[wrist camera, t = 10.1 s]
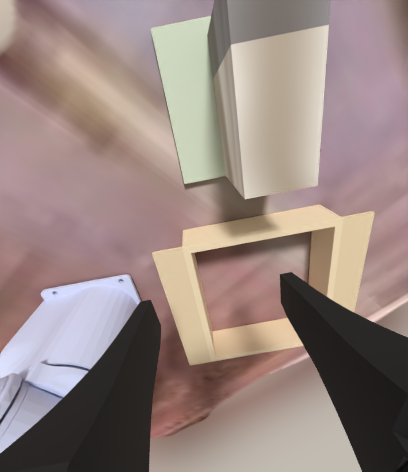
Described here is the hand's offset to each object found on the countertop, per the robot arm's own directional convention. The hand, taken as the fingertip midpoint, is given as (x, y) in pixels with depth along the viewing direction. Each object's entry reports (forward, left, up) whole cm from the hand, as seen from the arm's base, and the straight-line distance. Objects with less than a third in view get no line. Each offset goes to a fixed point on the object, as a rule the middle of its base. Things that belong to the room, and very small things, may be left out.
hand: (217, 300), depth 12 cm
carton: (+5, -7, -10) cm, 13 cm away
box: (+5, +9, -9) cm, 14 cm away
